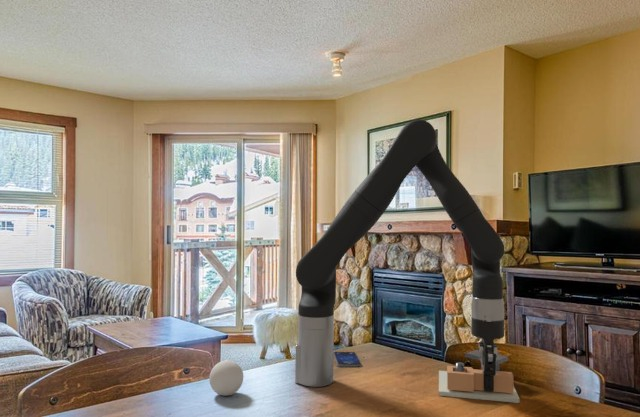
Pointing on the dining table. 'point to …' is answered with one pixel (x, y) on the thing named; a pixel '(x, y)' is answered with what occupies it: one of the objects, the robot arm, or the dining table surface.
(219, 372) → the ball
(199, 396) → the dining table surface
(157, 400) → the dining table surface
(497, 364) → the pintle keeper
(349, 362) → the smartphone
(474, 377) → the link
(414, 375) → the dining table surface
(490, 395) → the board
